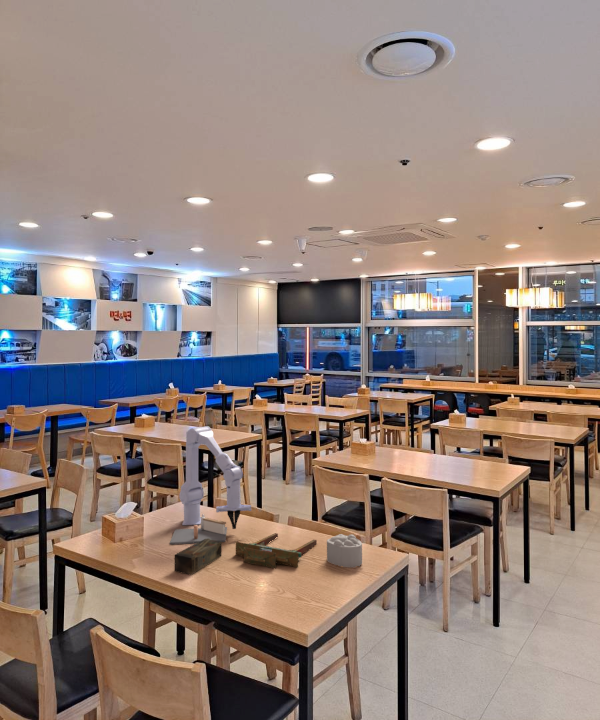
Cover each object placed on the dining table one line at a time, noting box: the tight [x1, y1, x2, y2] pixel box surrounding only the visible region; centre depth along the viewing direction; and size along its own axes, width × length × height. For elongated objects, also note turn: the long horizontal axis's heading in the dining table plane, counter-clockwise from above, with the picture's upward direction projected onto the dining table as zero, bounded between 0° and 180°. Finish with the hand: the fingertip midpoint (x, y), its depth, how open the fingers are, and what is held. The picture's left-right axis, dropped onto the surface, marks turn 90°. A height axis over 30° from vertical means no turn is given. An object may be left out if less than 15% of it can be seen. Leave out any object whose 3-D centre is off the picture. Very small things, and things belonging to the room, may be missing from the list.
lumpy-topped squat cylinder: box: [326, 533, 363, 568], centre depth 197 cm, size 10×13×9 cm
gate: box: [200, 516, 227, 534], centre depth 228 cm, size 13×2×5 cm, turn 55°
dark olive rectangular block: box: [173, 538, 223, 576], centre depth 197 cm, size 8×19×7 cm, turn 154°
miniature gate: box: [234, 532, 317, 569], centre depth 205 cm, size 27×6×30 cm
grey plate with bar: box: [169, 514, 228, 546], centre depth 225 cm, size 16×22×7 cm
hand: (234, 528), depth 228 cm, fingers closed
